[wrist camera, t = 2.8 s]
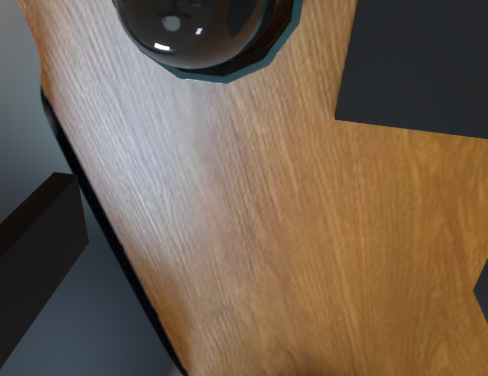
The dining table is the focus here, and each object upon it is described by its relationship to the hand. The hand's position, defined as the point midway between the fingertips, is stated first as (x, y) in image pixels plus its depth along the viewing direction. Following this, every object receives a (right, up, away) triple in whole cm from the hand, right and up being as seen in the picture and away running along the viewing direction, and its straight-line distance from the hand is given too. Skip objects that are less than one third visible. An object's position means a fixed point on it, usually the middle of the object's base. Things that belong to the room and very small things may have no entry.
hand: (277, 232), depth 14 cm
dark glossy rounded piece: (-3, +18, +20) cm, 27 cm away
